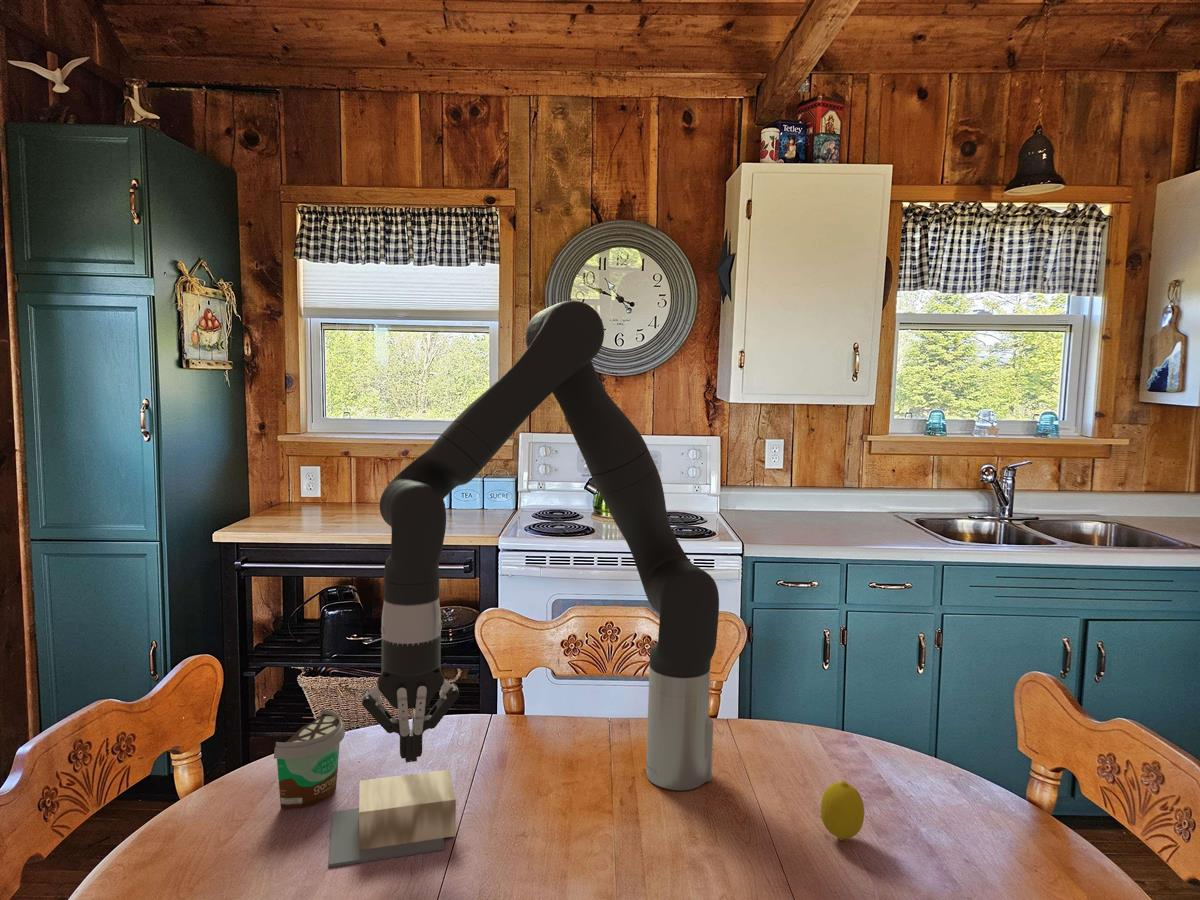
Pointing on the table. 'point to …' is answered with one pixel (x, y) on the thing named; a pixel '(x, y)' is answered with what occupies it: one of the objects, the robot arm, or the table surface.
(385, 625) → the robot arm
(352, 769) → the table surface
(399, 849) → the mat
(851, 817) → the lemon
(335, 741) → the food container
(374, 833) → the ash block
